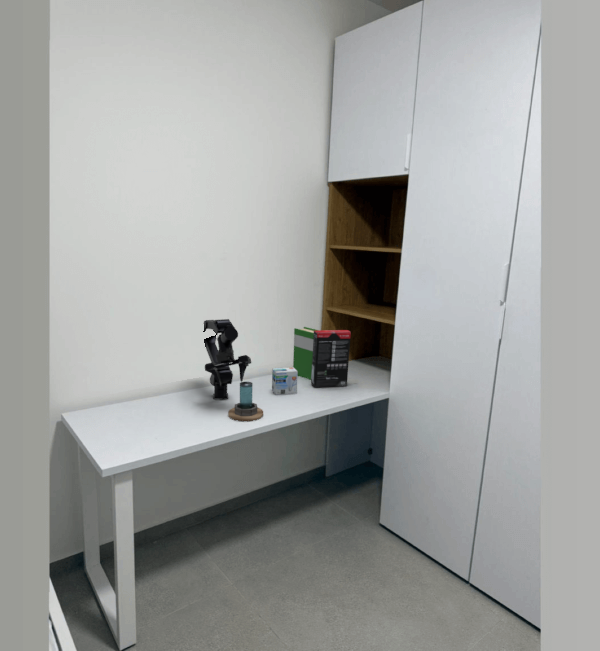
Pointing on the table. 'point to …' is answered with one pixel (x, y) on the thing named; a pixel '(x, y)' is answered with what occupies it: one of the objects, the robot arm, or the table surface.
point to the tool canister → (246, 395)
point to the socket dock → (245, 413)
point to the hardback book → (303, 351)
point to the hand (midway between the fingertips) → (230, 383)
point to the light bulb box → (284, 380)
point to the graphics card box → (330, 358)
